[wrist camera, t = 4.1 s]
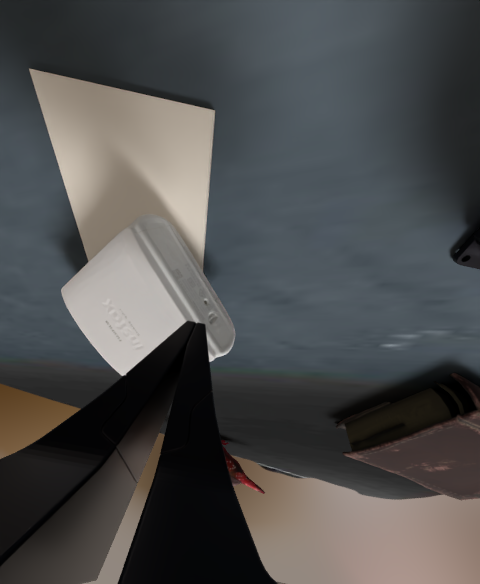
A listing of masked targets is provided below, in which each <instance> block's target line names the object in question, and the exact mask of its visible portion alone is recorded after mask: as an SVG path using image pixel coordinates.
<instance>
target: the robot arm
mask: <svg viewBox="0 0 480 584" xmlns="http://www.w3.org/2000/svg"><path fill="white" fill-rule="evenodd" d="M464 256H465V257H464ZM463 257H464V258H463ZM462 258H463V259H462ZM453 261H454V262H456V263H457V264H459V265H463V266H467V267H472V268H477V269H480V227H479V228H478V229H477V231H476V232H475V233H474V234H473V235H472V236H471V237H470V238H469V239H468V241H467V242H466V243H465V244H464V245H463V246H462V247H461V248H460V249H459V251H458V252H457V253H456V254H455V255H454V257H453ZM172 401H173V403H172ZM171 403H172V407H171V412H170V416H169V420H168V424H167V428H166V432H165V436H164V441H163V445H162V449H161V455H160V457H159V461H158V465H157V469H156V473H155V476H154V479H153V482H152V486H151V488H150V491H149V494H148V497H147V500H146V503H145V506H144V509H143V511H142V515H141V517H140V520H139V523H138V526H137V529H136V532H135V535H134V538H133V541H132V543H131V547H130V549H129V552H128V555H127V558H126V561H125V564H124V567H123V570H122V573H121V575H120V579H119V581H118V584H285V583H280V582H276V581H275V580H273V579H272V578H271V577H270V575H269V574H268V572H267V571H266V570H265V568H264V566H263V564H262V562H261V560H260V557H259V554H258V552H257V549H256V546H255V544H254V541H253V538H252V536H251V533H250V531H249V528H248V525H247V523H246V520H245V518H244V515H243V512H242V510H241V507H240V504H239V502H238V499H237V496H236V494H235V491H234V488H233V484H232V481H231V478H230V474H229V470H228V466H227V462H226V458H225V454H224V449H223V445H222V441H221V437H220V433H219V428H218V424H217V419H216V414H215V407H214V399H213V392H212V381H211V372H210V362H209V353H208V343H207V334H206V325H205V324H203V323H198V322H197V323H196V322H193V321H186V322H185V323H184V324H183V325H182V326H180V327H179V328H178V329H177V330H176V331H175V332H173V333H172V334H171V335H170V336H169V337H168V338H166V339H165V340H164V341H163V342H162V343H161V344H160V345H158V346H157V347H156V348H155V349H154V350H153V351H151V352H150V353H149V354H148V355H147V356H146V357H145V358H143V359H142V360H141V361H140V362H139V363H138V364H136V365H135V366H134V367H133V368H132V369H131V370H129V371H128V372H127V373H126V375H124V376H122V377H121V378H120V379H119V380H118V381H117V382H115V383H114V384H113V385H112V386H111V387H109V388H108V389H107V390H106V391H105V392H103V393H102V394H101V395H99V396H98V397H97V398H95V399H94V400H93V401H91V402H90V403H89V404H87V405H86V406H85V407H83V408H82V409H81V410H79V411H78V412H76V413H75V414H74V415H72V416H71V417H70V418H68V419H67V420H65V421H64V422H63V423H61V424H60V425H59V426H57V427H56V428H54V429H53V430H52V431H50V432H49V433H47V434H46V435H45V436H43V437H42V438H40V439H39V440H37V441H36V442H34V443H32V444H30V445H29V446H27V447H25V448H23V449H21V450H19V451H17V452H16V453H13V454H11V455H9V456H6V457H4V458H2V459H0V584H82V583H86V582H91V581H95V580H97V578H98V575H99V573H100V570H101V568H102V566H103V564H104V561H105V559H106V557H107V554H108V552H109V550H110V547H111V545H112V542H113V540H114V538H115V535H116V533H117V531H118V528H119V526H120V524H121V521H122V519H123V517H124V514H125V512H126V510H127V507H128V505H129V502H130V500H131V498H132V495H133V493H134V491H135V488H136V486H137V483H138V481H139V479H140V476H141V474H142V471H143V469H144V467H145V465H146V462H147V460H148V458H149V455H150V453H151V450H152V448H153V446H154V443H155V441H156V439H157V436H158V434H159V432H160V429H161V427H162V425H163V422H164V420H165V417H166V415H167V413H168V410H169V408H170V406H171Z"/></svg>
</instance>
